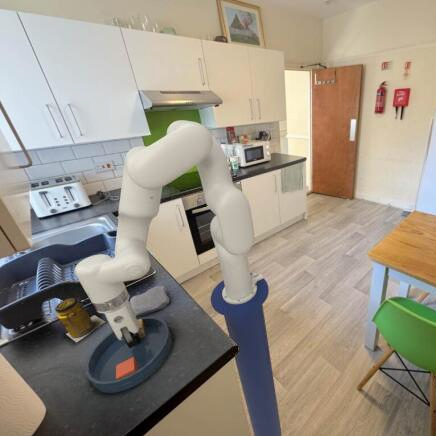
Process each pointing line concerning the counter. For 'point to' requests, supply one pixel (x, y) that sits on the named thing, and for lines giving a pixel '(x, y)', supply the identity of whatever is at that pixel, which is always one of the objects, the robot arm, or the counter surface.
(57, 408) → the counter surface
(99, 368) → the bowl
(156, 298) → the stone block
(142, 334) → the maple block
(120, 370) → the coral block
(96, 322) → the condiment
